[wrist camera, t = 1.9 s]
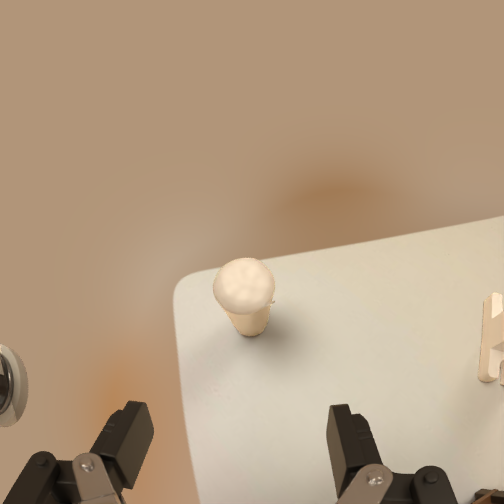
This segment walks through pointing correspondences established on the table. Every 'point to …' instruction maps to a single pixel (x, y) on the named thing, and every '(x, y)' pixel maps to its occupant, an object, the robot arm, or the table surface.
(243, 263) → the milkshake
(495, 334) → the cream mounting bracket
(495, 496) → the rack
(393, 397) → the table surface
